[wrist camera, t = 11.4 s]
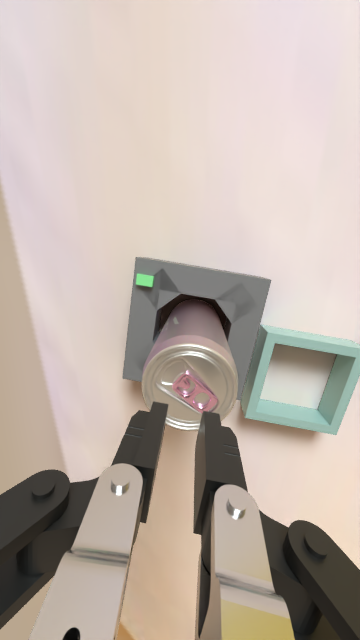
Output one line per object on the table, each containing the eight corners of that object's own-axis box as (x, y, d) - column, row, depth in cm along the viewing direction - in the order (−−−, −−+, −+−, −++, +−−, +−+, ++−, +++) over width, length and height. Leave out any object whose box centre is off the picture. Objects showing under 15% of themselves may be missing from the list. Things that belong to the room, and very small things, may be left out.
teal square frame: (351, 340, 28) (369, 350, 25) (323, 418, 30) (336, 435, 27) (260, 324, 28) (267, 332, 25) (240, 402, 31) (244, 417, 28)
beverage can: (195, 356, 29) (191, 451, 15) (158, 324, 29) (117, 391, 14) (230, 322, 28) (263, 389, 14) (192, 287, 27) (185, 319, 13)
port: (260, 276, 27) (272, 280, 22) (234, 381, 30) (241, 402, 26) (144, 257, 27) (134, 257, 23) (132, 363, 30) (121, 380, 26)
